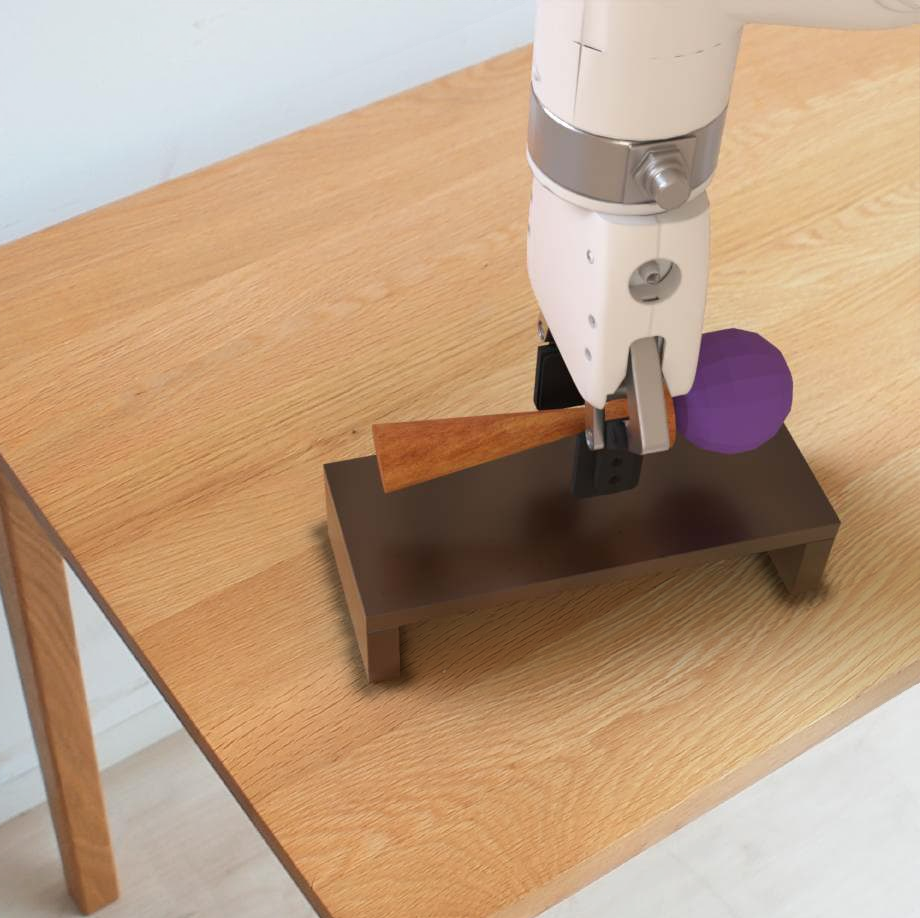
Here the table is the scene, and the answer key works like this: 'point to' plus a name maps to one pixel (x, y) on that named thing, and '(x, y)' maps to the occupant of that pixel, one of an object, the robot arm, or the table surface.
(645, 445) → the robot arm
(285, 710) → the table surface
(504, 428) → the kendama
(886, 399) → the table surface
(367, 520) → the shelf
